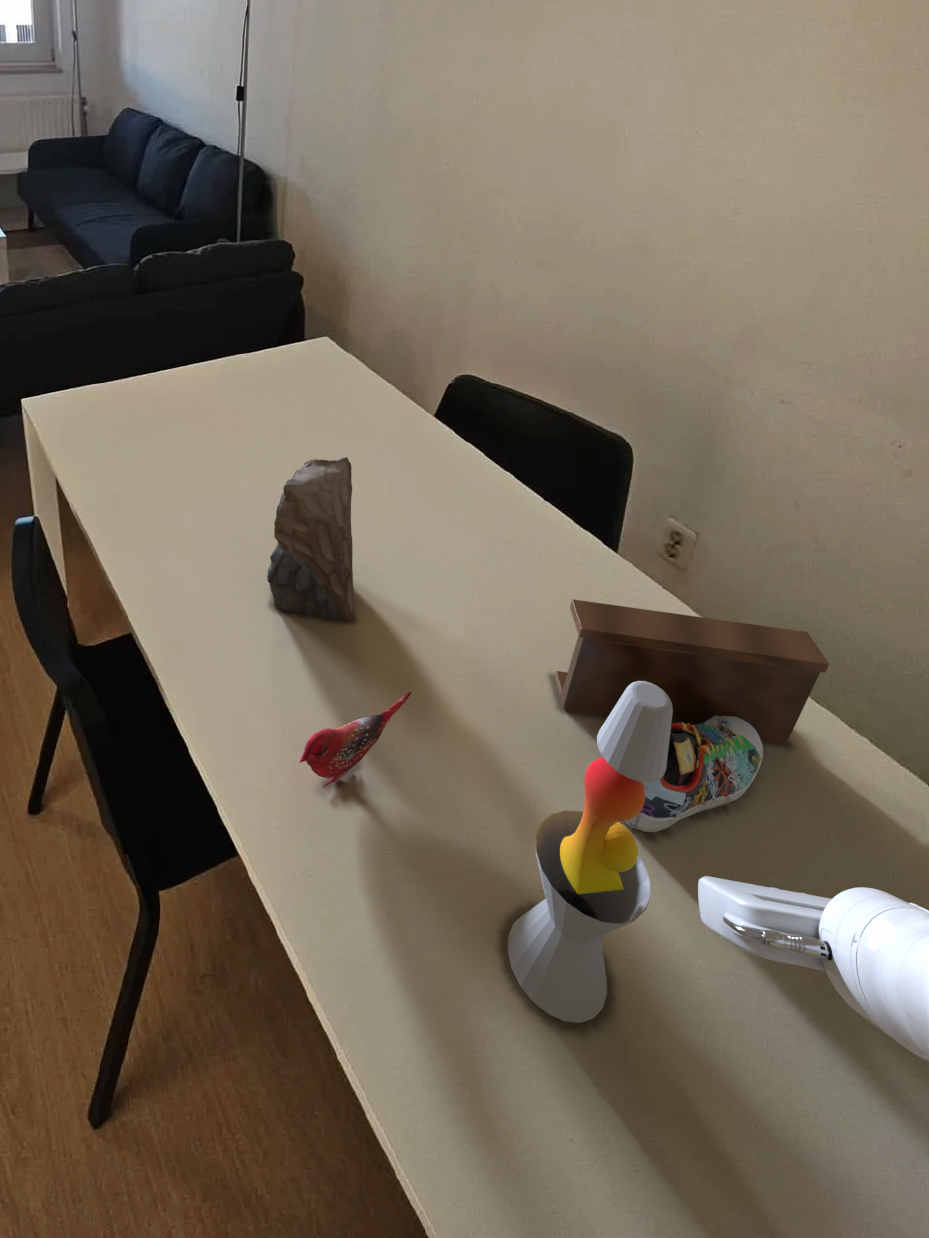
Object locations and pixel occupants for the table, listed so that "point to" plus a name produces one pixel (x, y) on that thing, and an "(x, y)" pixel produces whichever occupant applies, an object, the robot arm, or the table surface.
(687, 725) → the sneaker
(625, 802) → the lava lamp
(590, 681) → the wooden wall shelf
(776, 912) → the robot arm
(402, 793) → the table surface
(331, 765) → the decorative bird figurine
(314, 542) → the brown rock
